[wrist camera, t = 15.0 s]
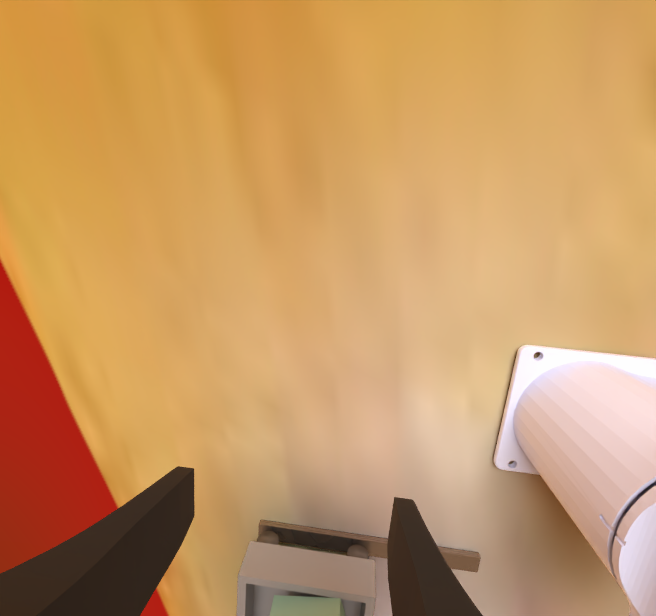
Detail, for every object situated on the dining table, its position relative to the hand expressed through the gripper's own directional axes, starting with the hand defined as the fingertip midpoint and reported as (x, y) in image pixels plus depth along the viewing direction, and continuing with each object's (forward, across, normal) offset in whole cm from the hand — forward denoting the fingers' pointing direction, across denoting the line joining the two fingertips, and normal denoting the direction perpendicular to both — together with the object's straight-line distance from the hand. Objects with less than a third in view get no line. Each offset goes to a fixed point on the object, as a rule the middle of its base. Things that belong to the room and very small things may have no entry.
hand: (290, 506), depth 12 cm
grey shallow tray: (+10, 0, +16) cm, 19 cm away
